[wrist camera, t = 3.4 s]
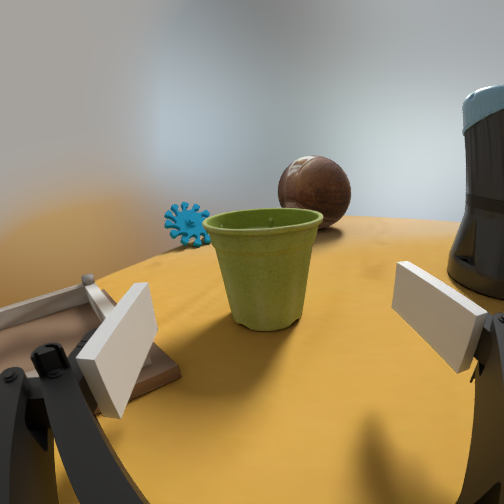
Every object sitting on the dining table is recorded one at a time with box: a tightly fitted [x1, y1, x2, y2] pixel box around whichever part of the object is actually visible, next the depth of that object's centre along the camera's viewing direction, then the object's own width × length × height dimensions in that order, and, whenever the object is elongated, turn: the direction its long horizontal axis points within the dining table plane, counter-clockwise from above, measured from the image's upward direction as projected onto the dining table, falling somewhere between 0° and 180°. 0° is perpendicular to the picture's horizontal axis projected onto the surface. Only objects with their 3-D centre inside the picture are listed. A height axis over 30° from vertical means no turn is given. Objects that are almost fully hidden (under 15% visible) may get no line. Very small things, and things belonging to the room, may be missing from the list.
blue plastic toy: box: [164, 202, 211, 247], centre depth 53 cm, size 11×6×10 cm
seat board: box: [0, 274, 181, 414], centre depth 17 cm, size 18×18×4 cm
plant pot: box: [202, 208, 323, 331], centre depth 24 cm, size 9×9×9 cm
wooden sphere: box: [278, 156, 351, 229], centre depth 57 cm, size 15×15×15 cm
